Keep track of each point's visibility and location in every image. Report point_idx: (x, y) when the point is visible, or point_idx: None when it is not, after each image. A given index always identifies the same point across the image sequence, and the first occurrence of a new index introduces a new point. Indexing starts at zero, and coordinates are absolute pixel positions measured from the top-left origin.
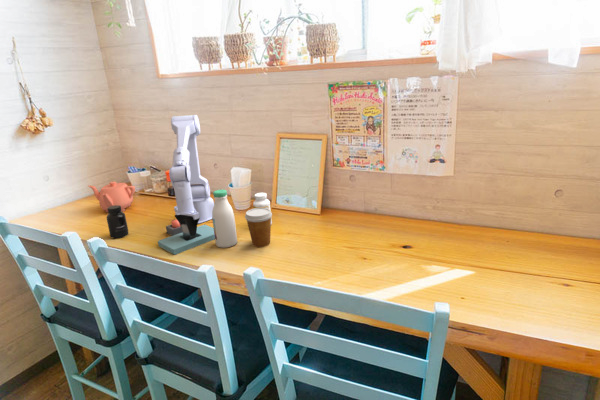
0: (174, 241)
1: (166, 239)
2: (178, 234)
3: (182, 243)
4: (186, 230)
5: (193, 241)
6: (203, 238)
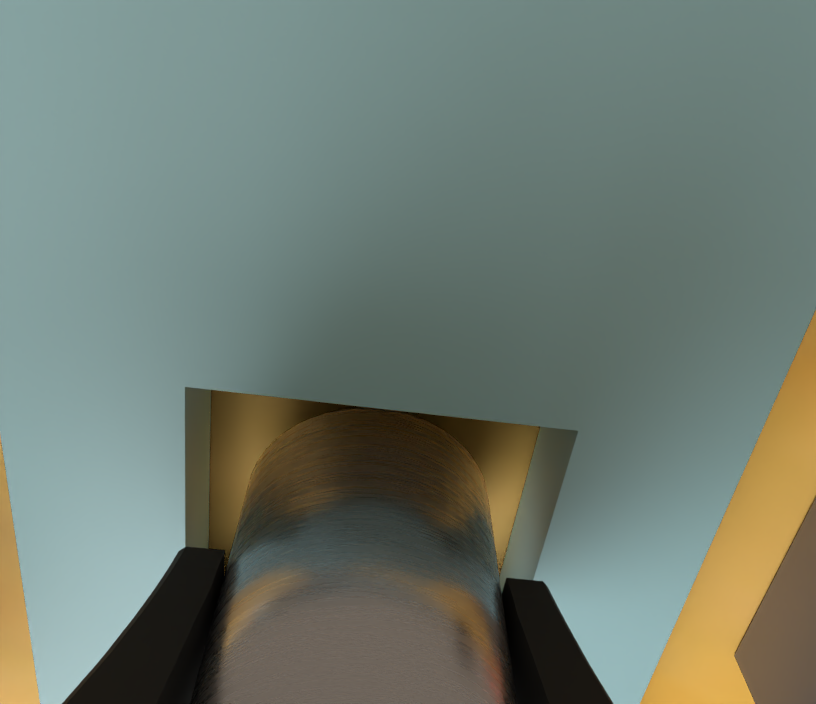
0: (445, 224)
1: (761, 196)
2: (686, 499)
3: (145, 249)
4: (245, 622)
5: (36, 434)
6: (25, 597)
